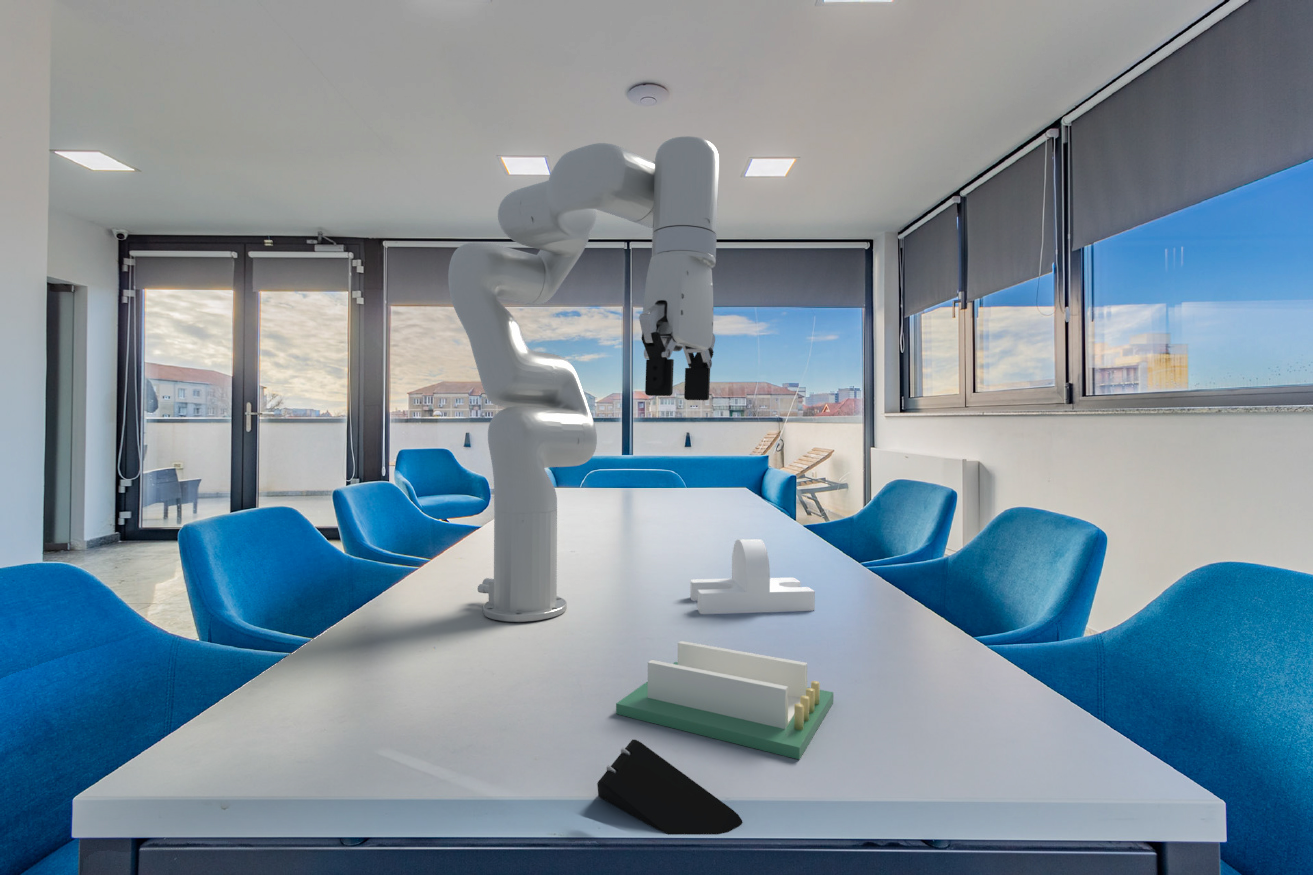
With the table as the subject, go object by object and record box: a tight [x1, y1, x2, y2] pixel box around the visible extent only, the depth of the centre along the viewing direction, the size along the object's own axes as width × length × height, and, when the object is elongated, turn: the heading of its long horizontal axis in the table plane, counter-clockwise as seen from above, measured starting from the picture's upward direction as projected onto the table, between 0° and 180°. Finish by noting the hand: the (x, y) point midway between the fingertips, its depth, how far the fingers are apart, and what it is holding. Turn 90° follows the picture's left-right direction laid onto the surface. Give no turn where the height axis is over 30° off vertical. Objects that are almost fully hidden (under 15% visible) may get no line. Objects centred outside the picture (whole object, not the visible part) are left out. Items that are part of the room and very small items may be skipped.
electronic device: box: [596, 739, 744, 856], centre depth 47 cm, size 4×10×10 cm
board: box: [615, 640, 834, 760], centre depth 62 cm, size 18×13×4 cm
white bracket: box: [689, 538, 816, 615], centre depth 100 cm, size 18×10×11 cm, turn 96°
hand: (678, 397), depth 73 cm, fingers open, 9 cm apart
